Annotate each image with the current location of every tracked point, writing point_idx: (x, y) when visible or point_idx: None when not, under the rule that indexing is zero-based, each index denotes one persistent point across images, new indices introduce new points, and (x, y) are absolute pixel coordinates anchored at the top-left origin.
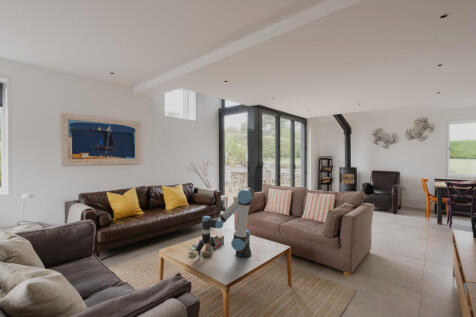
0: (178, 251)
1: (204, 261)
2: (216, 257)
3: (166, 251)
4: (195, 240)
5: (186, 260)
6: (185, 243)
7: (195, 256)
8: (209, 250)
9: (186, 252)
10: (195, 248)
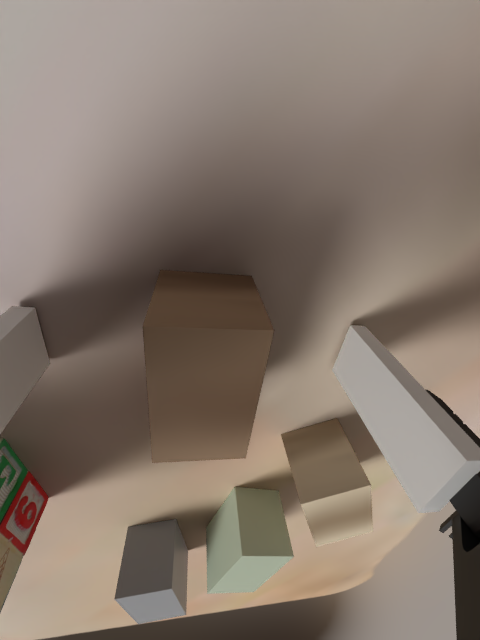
0: (311, 557)
1: (439, 169)
2: (27, 29)
3: (355, 577)
4: (34, 630)
5: (472, 413)
6: None
7: (334, 424)
8: (5, 450)
9: (288, 527)
10: (177, 554)
